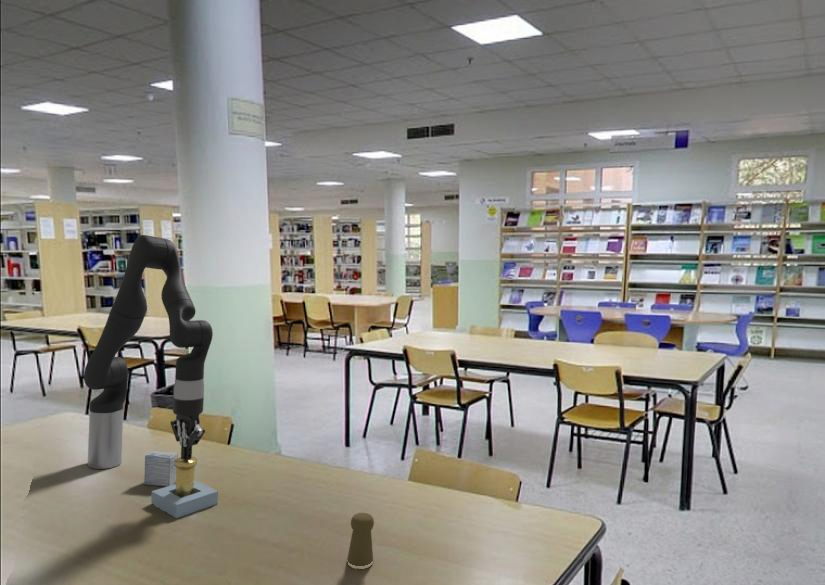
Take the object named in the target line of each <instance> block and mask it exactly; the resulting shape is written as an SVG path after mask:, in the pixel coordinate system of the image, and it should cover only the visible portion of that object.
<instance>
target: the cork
mask: <svg viewBox="0 0 825 585" xmlns="http://www.w3.org/2000/svg"><path fill="white" fill-rule="evenodd" d="M351 517H352V518H351V519H350V520H351V521H350V526H351V529H352V531H351V532H352V534H351V538H350V543H349V549H348V554H347V559H346V561H347V560H348V562H349V563H350V564H352V565H355V566H365V565H368V564H370V563H371V562H372V561H373V562H374V554H373V553H374V552H373V540H372V530H373V527H374V525H375V521H374V520H375V519H374V517H373V516H372V515H371V514H369V513H368V512H357V513H355V514H354V515H353V516H351Z"/></svg>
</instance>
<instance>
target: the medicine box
mask: <svg viewBox="0 0 825 585" xmlns="http://www.w3.org/2000/svg"><path fill="white" fill-rule="evenodd" d="M177 458H179V453H177V452H170V451H168V452H167V451H158V450H153V451H151V452H149V453H147V454H146V455H145V456H144V476H143V477H144V479H143V482H144V483H143V484H144V485H146V484H147V485H149V486H159V487H167V486H171V485H174V484H176V467H175V466H174V460H175V459H177Z"/></svg>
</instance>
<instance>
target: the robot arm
mask: <svg viewBox="0 0 825 585" xmlns="http://www.w3.org/2000/svg"><path fill="white" fill-rule="evenodd" d="M146 268H147V269H152V270H162V271H163V273H164V274H165V275H166V279H165V282H164V284H163V286H162V290H161V301H162V304H163V307H164V309H165V311H166V313H167V317H168V323H169V341H170V343H172V345H173V346H175V347H176V348H179V349H180V348H181V349H182V348H183V349H185V348H192V349H191V351H190V352H189V353H188V354H184V355H181V356H179V357H178V358H177V359H176V360H175V375H174V378H175V379H174V385H173V400H172V401H173V402H172V412H173V414H174V415H175V419H174V420H170V426H171V429H172V431H173V435H174V437H175V441H176V442H177V443H178V442H179V445H180V457H181V459H183V460H189V459H191V457H193V446H195V445H196V446H197V445H198V444H199V442H200V441H201V439H202V438H203V436H204V434H205V433H206V430H205V428H202V427H201V426H200V423H201V422H200V420H201V419H200V415H201V414H203V412H204V400H205V398H204V397H205V379H204V378H205V376H204V374H205V362H206V360H207V356H208V352H209V349H210V346H211V343H212V340H213V335H214V334H213V328H212V326H211V324H210V323H209V321H207V320H204V319H202V320H201V319H199V320H193V319H194V317H195V315H196V313H197V312H196V308H195V305H194V303H193V300H192V298H191V296H190V294H189V291H188V290H187V287H186V283H185V280H184V275H183V269H182V265H181V262H180V257H179V253H178V249H177V247H176V245H175V243H174V242H173V241H172V240H170V239H168V238H165V237H164V238H162V237H159V236H158V237H157V236H153V235H148V234H147V235H146V234H142V235H139V236H137V238H136V239H135V240H134V242H133V244H132V246H131V249H130V253H129V256H128V260H127V264H126V267H125V271H124V274H123V276H122V277H123V279H122V281H121V283H120V286H119V289H118V291H117V294H116V296H115V299H114V302H113V304H112V306H111V308H110V311H109V314H108V316H107V319H106V322H105V326H104V327H103V330H102V332H101V334H100V338H99V340H98V342H97V344H96V346H95V347H94V349H93V351H92V354H90V357H89V358H88V361H87V363H86V365H85V368H84V371H83V372H84V373H83V381H84V384H85V386H86V387H87V388H89V389H90V390H95V391H97V390H102V392H100V394H98V395H97V396H96V397H94V398H92V399H91V401H90V402H89V414H88V421H89V422H88V445H87V446H88V447H87V467H88V468H90V469H95V470H104V469H111V468H116V467H117V466H119V465H121V464H122V459H123V458H122V455H123V454H122V453H123V429H124V428H123V427H124V424H123V423H124V405H125V401H126V399H127V393H128V381H129V368H128V365H127V363H126V361H125V359H124V358H123V357H120V356H116V355H117V354H118V353H119V351H120V350H121V349H122V348H123V347H124V346H125V345H126V344H127V343H128V342H129V341H130V340H131V339H132V338H134V337H135V335H136V334H137V333H138V331H139V330H140V328H141V326H142V324H143V322H144V319H145V317H146V314H147V311H148V304H147V299H146V297H145V294H144V291H143V287H142V278H143V274H144V271H145V269H146Z"/></svg>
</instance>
